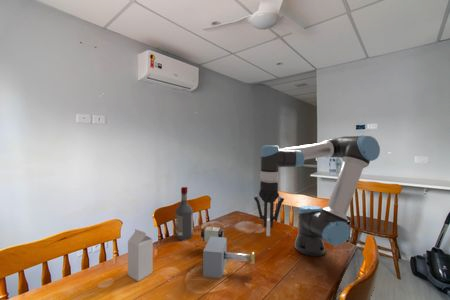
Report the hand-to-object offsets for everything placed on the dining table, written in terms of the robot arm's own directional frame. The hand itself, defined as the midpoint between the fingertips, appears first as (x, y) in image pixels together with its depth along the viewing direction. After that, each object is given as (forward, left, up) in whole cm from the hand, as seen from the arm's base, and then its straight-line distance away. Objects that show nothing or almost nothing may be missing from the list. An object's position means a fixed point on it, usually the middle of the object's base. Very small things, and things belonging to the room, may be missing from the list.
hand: (268, 234), depth 90 cm
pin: (+13, 0, -13) cm, 19 cm away
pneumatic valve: (+28, -17, -17) cm, 37 cm away
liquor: (+48, -28, -17) cm, 58 cm away
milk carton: (+54, +10, -17) cm, 58 cm away
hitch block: (+23, 0, -17) cm, 29 cm away
